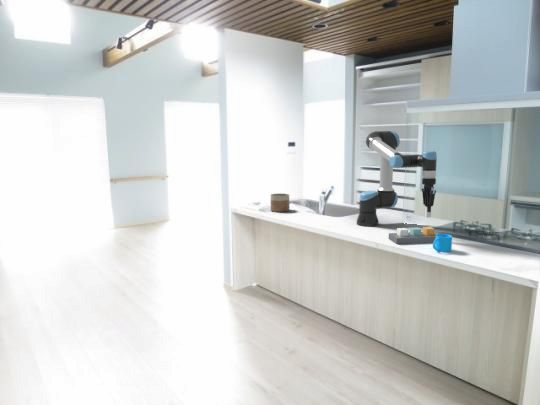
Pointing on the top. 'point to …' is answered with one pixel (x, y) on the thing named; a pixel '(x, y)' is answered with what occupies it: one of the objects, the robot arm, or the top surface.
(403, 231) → the button white
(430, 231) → the button orange
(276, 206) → the planter
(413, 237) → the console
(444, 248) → the mug
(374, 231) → the top surface
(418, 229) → the button teal
